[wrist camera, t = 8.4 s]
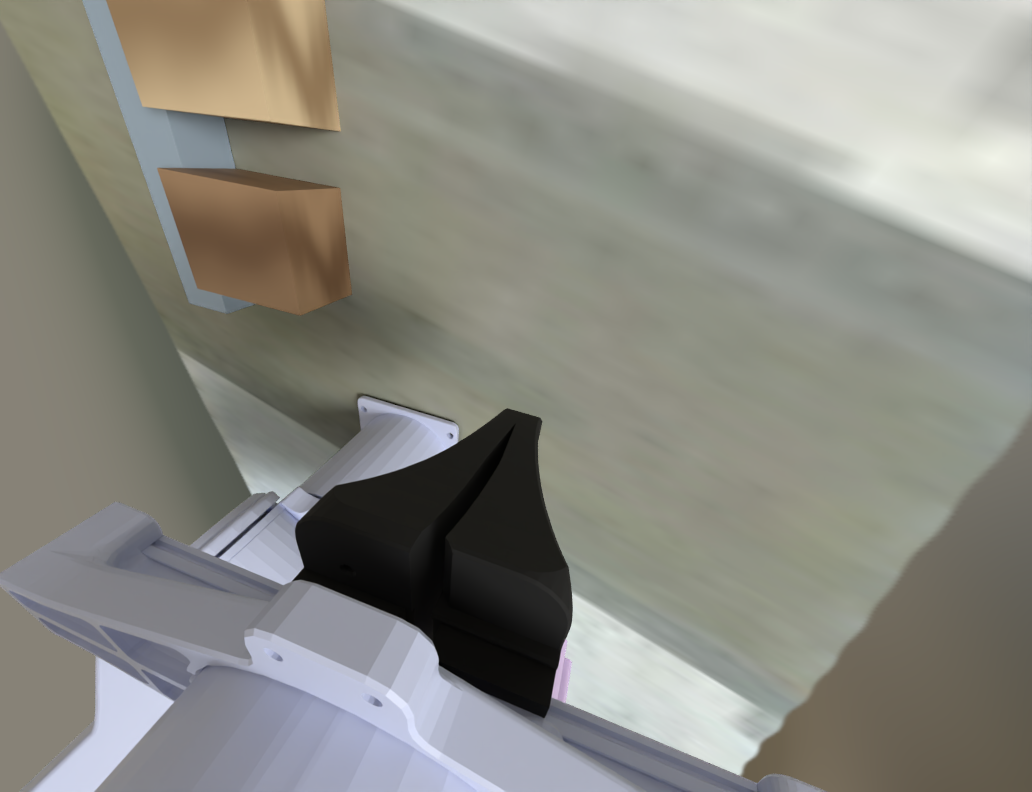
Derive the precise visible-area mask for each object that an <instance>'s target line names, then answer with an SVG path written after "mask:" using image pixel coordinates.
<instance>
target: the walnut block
mask: <svg viewBox="0 0 1032 792" xmlns="http://www.w3.org/2000/svg"><path fill="white" fill-rule="evenodd" d="M157 170H158V173H159V176H160V179H161V182H162V185H163V188H164V191H165V194H166V197H167V200H168V203H169V206H170V209H171V212H172V215H173V218H174V221H175V223H176V226H177V229H178V232H179V235H180V238H181V241H182V244H183V247H184V250H185V253H186V256H187V259H188V262H189V265H190V268H191V271H192V274H193V277H194V280H195V283H196V286H197V289H201V290H205V291H208V292H212V293H216V294H220V295H224V296H227V297H231V298H235V299H239V300H243V301H247V302H250V303H254V304H258V305H262V306H266V307H269V308H273V309H277V310H281V311H285V312H288V313H292V314H296V315H300V316H301V315H303V314H306V313H308V312H310V311H313V310H315V309H318V308H320V307H323V306H325V305H327V304H330V303H332V302H335V301H337V300H340V299H342V298H344V297H347V296H349V295H352V290H351V282H350V273H349V264H348V255H347V246H346V237H345V228H344V219H343V210H342V201H341V192H340V188H337V187H332V186H326V185H321V184H316V183H310V182H305V181H300V180H294V179H289V178H284V177H278V176H273V175H268V174H262V173H257V172H252V171H246V170H241V169H226V168H157Z"/></svg>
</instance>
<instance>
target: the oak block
mask: <svg viewBox="0 0 1032 792" xmlns="http://www.w3.org/2000/svg"><path fill="white" fill-rule="evenodd" d="M106 2H107V5H108V8H109V10H110V13H111V16H112V19H113V22H114V25H115V28H116V31H117V34H118V37H119V40H120V42H121V45H122V48H123V51H124V54H125V57H126V60H127V63H128V66H129V69H130V72H131V74H132V77H133V80H134V83H135V86H136V89H137V92H138V95H139V98H140V101H141V103H142V106H143V107H149V108H156V109H164V110H171V111H179V112H186V113H194V114H201V115H209V116H216V117H224V118H231V119H240V120H248V121H257V122H265V123H274V124H282V125H291V126H299V127H308V128H317V129H325V130H334V131H341V130H340V122H339V114H338V106H337V97H336V89H335V81H334V73H333V65H332V57H331V49H330V41H329V33H328V25H327V17H326V9H325V0H106Z"/></svg>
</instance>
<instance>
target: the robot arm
mask: <svg viewBox="0 0 1032 792" xmlns="http://www.w3.org/2000/svg"><path fill="white" fill-rule="evenodd" d="M358 409H359V417H360V426H361V431H360V432H359V433H358V434H357V435H356V436H355V437H353V438H352V439H351V440H350V441H349V442H348V443H347V444H346V445H345V446H343V447H342V448H341V449H340V450H339V451H338V452H337V453H336V454H335V455H334V456H332V457H331V458H330V459H329V460H328V461H327V462H326V463H325V464H324V465H322V466H321V467H320V468H319V469H318V470H317V471H316V472H315V473H314V474H313V475H311V476H310V477H309V478H308V479H307V480H306V481H305V482H304V483H303V484H301V485H300V486H299V487H297V488H295V489H294V490H293V491H292V492H291V493H290V494H288V495H287V496H286V497H285V498H284V499H283V500H281V501H280V502H279V503H278V504H277V503H276V501H277V500H278V499H279V498H280V497H279V496H278V495H277V494H276V493H275V492H273V491H271V492H268V493H267V494H266V493H256V494H253V495H252V496H250V497H249V498H248V499H246V500H245V501H244V502H242V503H241V504H240V505H239V506H237V507H236V508H235V509H234V510H232V511H231V512H230V513H229V514H227V515H226V516H225V517H224V518H222V519H221V520H220V521H219V522H218V523H216V524H215V525H214V526H213V527H212V528H210V529H209V530H208V531H207V532H206V533H204V534H203V535H202V536H201V537H200V538H198V539H197V540H196V541H195V542H194V543H192V544H191V545H190V546H188V545H186V544H183V543H181V542H179V541H177V540H174V539H172V538H169V537H167V536H165V535H163V532H162V529H161V527H160V526H159V524H158V523H157V522H156V520H155V519H154V518H153V517H151V516H150V515H148V514H147V513H145V512H142V511H140V510H138V509H135V508H133V507H130V506H128V505H125V504H123V503H120V502H114V503H112V504H111V505H109V506H107V507H106V508H104V509H103V510H101V511H99V512H98V513H96V514H94V515H93V516H91V517H90V518H88V519H86V520H85V521H83V522H82V523H80V524H78V525H77V526H75V527H73V528H72V529H70V530H69V531H67V532H65V533H64V534H63V535H61V536H59V537H57V538H56V539H54V540H53V541H51V542H49V543H48V544H46V545H44V546H43V547H41V548H40V549H38V550H36V551H35V552H33V553H31V554H30V555H28V556H27V557H25V558H23V559H22V560H20V561H19V562H17V563H15V564H14V565H12V566H11V567H9V568H7V569H6V570H4V571H2V572H1V573H0V587H1V588H3V589H4V590H5V591H6V592H7V593H8V594H9V595H10V596H11V597H13V598H14V599H15V600H16V601H17V602H18V603H19V604H20V605H21V606H23V607H24V608H25V609H26V610H27V611H28V612H29V613H30V614H32V615H33V616H34V617H35V618H36V619H37V620H38V621H39V622H40V623H41V624H42V625H44V626H45V627H46V628H47V629H48V630H49V631H50V632H52V633H54V634H56V635H58V636H59V637H62V638H63V639H65V640H67V641H69V642H71V643H73V644H75V645H77V646H78V647H80V648H82V649H84V650H86V651H88V652H89V653H91V654H93V655H95V656H96V678H95V681H96V682H95V683H96V684H95V689H96V690H95V719H94V721H93V722H92V723H91V724H89V726H87V727H86V728H85V729H84V730H83V731H82V732H81V733H80V734H79V735H78V736H77V737H76V738H75V739H74V740H73V741H72V742H71V743H70V744H68V745H67V746H66V747H65V748H64V749H63V750H62V751H61V752H60V753H59V754H58V755H57V756H56V757H55V758H54V759H53V760H52V761H51V762H50V763H48V764H47V765H46V766H45V767H44V768H43V769H42V770H41V771H40V772H39V773H38V774H37V775H36V776H35V777H34V778H33V779H32V780H31V781H29V783H28V784H26V785H25V786H24V787H23V788H22V789H21V790H20V791H19V792H827V791H824V790H822V789H819V788H817V787H814V786H812V785H809V784H807V783H805V782H802V781H800V780H797V779H795V778H792V777H789V776H785V775H781V774H770V775H767V776H765V777H763V778H762V779H761V780H760V781H759V782H758V783H755V782H753V781H751V780H748V779H746V778H743V777H741V776H739V775H736V774H734V773H731V772H729V771H727V770H724V769H722V768H720V767H717V766H715V765H712V764H710V763H708V762H705V761H703V760H700V759H698V758H696V757H693V756H691V755H688V754H686V753H684V752H681V751H679V750H676V749H674V748H672V747H669V746H667V745H664V744H662V743H660V742H657V741H655V740H653V739H650V738H648V737H645V736H643V735H641V734H638V733H636V732H633V731H631V730H629V729H626V728H624V727H621V726H619V725H617V724H614V723H612V722H609V721H607V720H605V719H602V718H600V717H598V716H595V715H593V714H590V713H588V712H586V711H583V710H581V709H578V708H576V707H574V706H571V705H569V704H566V703H564V702H562V701H559V700H557V699H554V698H552V692H553V686H554V681H555V675H556V670H557V668H558V665H559V660H560V655H561V649H562V646H563V644H564V642H565V639H566V637H567V635H568V632H569V630H570V627H571V623H572V611H573V605H572V591H571V582H570V575H569V568H568V565H567V563H566V561H565V559H564V557H563V555H562V552H561V550H560V548H559V545H558V543H557V540H556V537H555V535H554V532H553V529H552V526H551V523H550V520H549V517H548V513H547V510H546V506H545V502H544V498H543V493H542V488H541V482H540V475H539V466H538V439H539V435H540V430H541V425H542V420H541V419H540V418H539V417H536V416H532V415H529V414H525V413H522V412H518V411H515V410H511V409H508V408H507V409H505V410H503V411H502V412H501V413H500V414H498V415H497V416H496V417H495V418H493V419H492V420H491V421H489V422H488V423H487V424H485V425H484V426H482V427H481V428H480V429H478V430H477V431H475V432H474V433H472V434H471V435H469V436H468V437H466V438H465V439H463V440H461V441H460V442H458V435H459V427H458V426H457V424H455V423H454V422H451V421H447V420H444V419H441V418H437V417H434V416H431V415H427V414H424V413H421V412H417V411H414V410H411V409H407V408H404V407H401V406H397V405H394V404H391V403H387V402H384V401H381V400H377V399H374V398H371V397H367V396H361V397H360V398H359V399H358ZM450 433H451V434H452V435H453V436H452V435H450Z"/></svg>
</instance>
